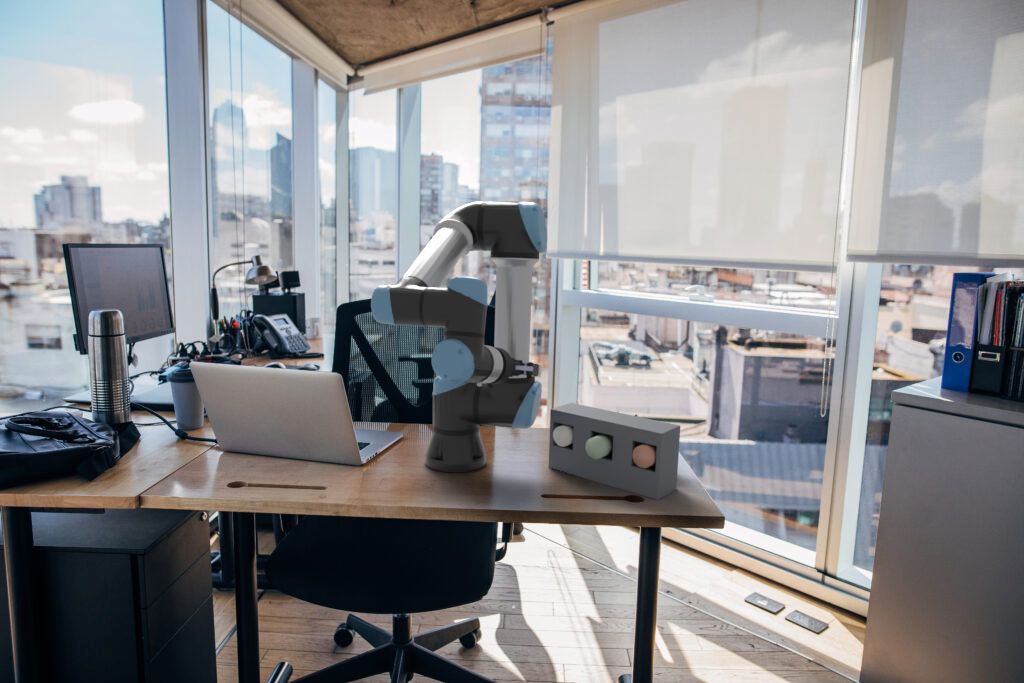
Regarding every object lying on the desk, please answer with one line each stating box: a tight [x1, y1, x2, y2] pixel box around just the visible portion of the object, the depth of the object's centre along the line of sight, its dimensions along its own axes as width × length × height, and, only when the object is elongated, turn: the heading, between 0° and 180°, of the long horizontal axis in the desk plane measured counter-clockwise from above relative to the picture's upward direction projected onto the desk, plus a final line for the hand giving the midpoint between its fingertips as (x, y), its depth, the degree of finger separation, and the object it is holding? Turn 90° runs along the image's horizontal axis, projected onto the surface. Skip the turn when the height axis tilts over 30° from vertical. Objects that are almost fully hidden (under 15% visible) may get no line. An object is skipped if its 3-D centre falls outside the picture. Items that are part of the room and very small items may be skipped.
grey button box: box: [548, 402, 681, 501], centre depth 155 cm, size 9×30×15 cm, turn 50°
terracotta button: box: [632, 443, 657, 468], centre depth 146 cm, size 4×5×5 cm
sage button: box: [585, 434, 613, 459], centre depth 151 cm, size 4×5×5 cm
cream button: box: [553, 425, 574, 447], centre depth 159 cm, size 4×5×5 cm
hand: (538, 370), depth 151 cm, fingers closed
